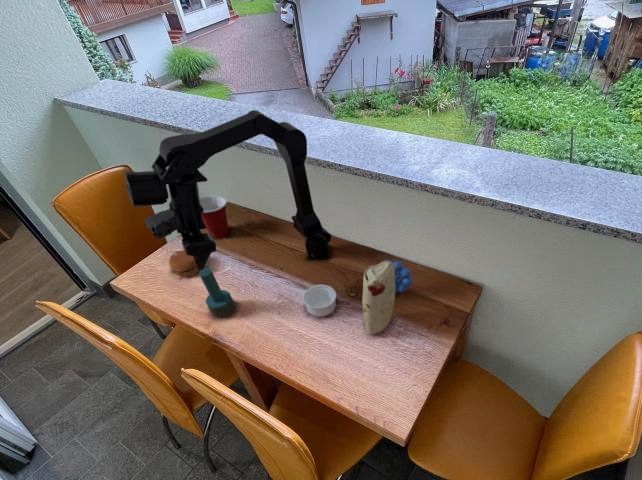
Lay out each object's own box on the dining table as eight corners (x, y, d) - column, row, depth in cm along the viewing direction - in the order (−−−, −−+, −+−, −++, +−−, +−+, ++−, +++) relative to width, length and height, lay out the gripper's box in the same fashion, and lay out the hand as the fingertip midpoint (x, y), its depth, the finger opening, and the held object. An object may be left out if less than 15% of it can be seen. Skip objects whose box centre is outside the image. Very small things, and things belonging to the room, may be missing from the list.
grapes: (417, 290, 99) (421, 257, 90) (406, 305, 95) (409, 273, 86) (382, 276, 103) (382, 244, 94) (370, 290, 99) (369, 258, 91)
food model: (377, 343, 87) (377, 287, 72) (357, 330, 89) (353, 273, 75) (399, 319, 92) (404, 262, 77) (379, 308, 95) (380, 251, 80)
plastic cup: (243, 229, 121) (232, 199, 112) (219, 246, 114) (206, 215, 106) (222, 220, 125) (210, 190, 116) (197, 236, 119) (183, 205, 110)
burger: (198, 277, 104) (192, 266, 101) (168, 277, 104) (160, 266, 101) (209, 256, 111) (203, 245, 107) (180, 257, 111) (174, 245, 108)
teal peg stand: (238, 301, 97) (222, 263, 87) (231, 318, 93) (213, 281, 83) (216, 300, 98) (197, 263, 87) (208, 318, 93) (187, 280, 83)
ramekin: (323, 290, 100) (322, 279, 96) (344, 306, 95) (343, 295, 92) (299, 306, 95) (296, 295, 92) (319, 324, 91) (317, 313, 88)
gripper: (135, 186, 78) (150, 246, 87) (153, 224, 67) (168, 288, 76) (189, 183, 84) (198, 239, 93) (213, 217, 73) (220, 277, 82)
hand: (195, 259), depth 86 cm, fingers open, 9 cm apart
